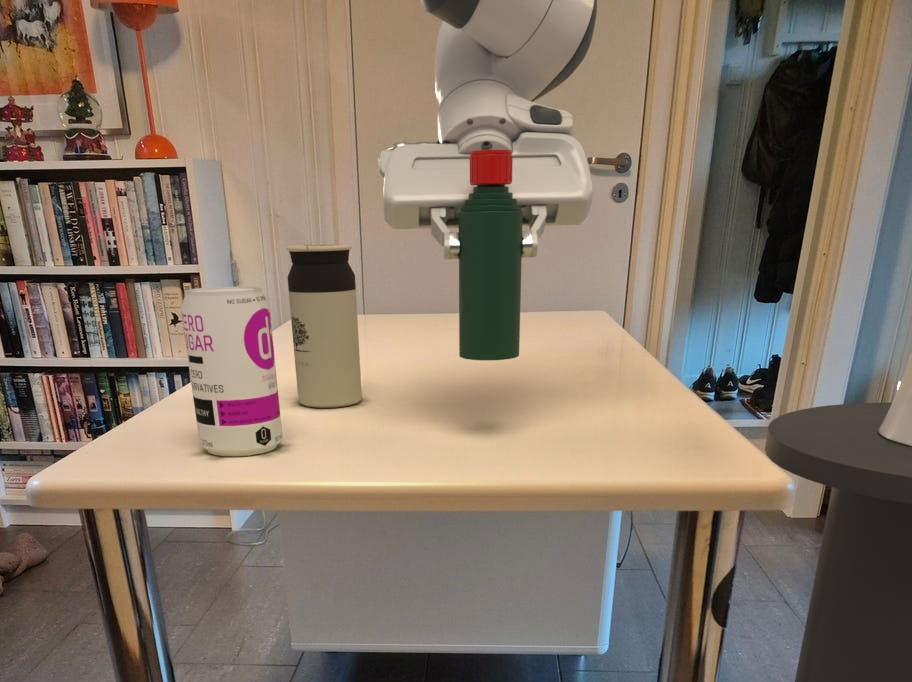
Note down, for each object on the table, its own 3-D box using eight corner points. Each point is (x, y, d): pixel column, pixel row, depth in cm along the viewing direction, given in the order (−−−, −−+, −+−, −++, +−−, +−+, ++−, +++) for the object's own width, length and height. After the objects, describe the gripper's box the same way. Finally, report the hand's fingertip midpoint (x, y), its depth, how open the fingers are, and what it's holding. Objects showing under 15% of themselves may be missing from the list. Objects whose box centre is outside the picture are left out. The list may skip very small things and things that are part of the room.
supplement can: (296, 440, 89) (282, 285, 82) (258, 460, 82) (239, 292, 75) (227, 436, 91) (208, 286, 85) (185, 455, 84) (160, 292, 78)
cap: (513, 184, 80) (514, 151, 79) (509, 183, 77) (510, 148, 76) (473, 185, 81) (473, 153, 80) (467, 184, 77) (467, 150, 76)
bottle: (521, 351, 88) (526, 156, 80) (516, 360, 82) (520, 152, 75) (464, 351, 89) (463, 158, 81) (454, 360, 84) (453, 155, 76)
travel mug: (353, 394, 112) (344, 243, 104) (369, 405, 105) (360, 244, 97) (293, 399, 110) (279, 245, 102) (305, 411, 103) (291, 247, 95)
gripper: (377, 116, 82) (380, 230, 78) (588, 112, 83) (603, 225, 78) (379, 171, 88) (383, 280, 84) (576, 167, 89) (590, 275, 84)
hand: (491, 253), depth 81 cm, fingers closed on bottle, 6 cm apart
